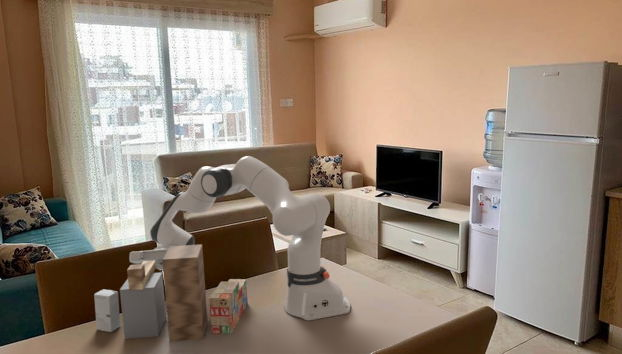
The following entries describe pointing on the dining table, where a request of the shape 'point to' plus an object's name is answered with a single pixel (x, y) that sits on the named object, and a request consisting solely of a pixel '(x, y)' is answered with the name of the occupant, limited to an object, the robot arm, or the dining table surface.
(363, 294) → the dining table surface
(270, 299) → the dining table surface
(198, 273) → the tall stand
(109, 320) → the skincare box
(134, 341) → the dining table surface
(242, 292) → the stack of blocks
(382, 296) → the dining table surface
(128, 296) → the pale grey upright box
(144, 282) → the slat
